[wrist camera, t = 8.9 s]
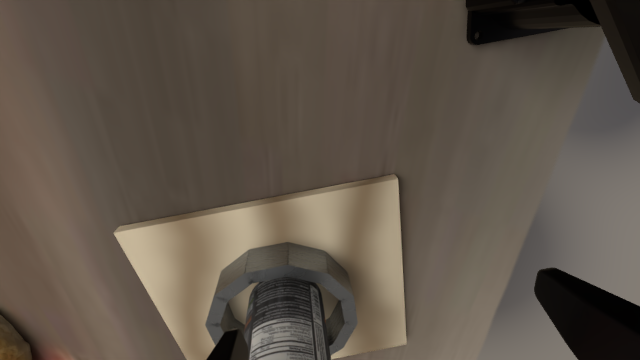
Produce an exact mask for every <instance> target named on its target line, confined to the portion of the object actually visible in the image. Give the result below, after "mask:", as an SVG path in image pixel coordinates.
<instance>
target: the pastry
mask: <svg viewBox="0 0 640 360" xmlns="http://www.w3.org/2000/svg"><path fill="white" fill-rule="evenodd" d="M30 350H31V348H30V345H29V343H28V342H25V341H24V340H23V338H22V337H21V336H20V335H19V334H18V332H17V331H16V330H15V329H14V327H13V326H12V325H11V324H10V323H9V322H8V321H7V320H6V319H5V318H4V317H2V316H1V315H0V360H32V354H31V351H30Z"/></svg>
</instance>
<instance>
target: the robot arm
mask: <svg viewBox="0 0 640 360" xmlns="http://www.w3.org/2000/svg"><path fill="white" fill-rule="evenodd" d="M466 8H467V9H468V21H467V41H468V43H470V44H472V45H479V44H485V43H490V42H496V41H501V40H506V39H512V38H517V37H523V36H528V35H534V34H539V33H544V32H550V31H555V30H561V29H566V28H575V27H602V29H603V32H604V34H605V36H606V38H607V41H608V43H609V45H610V47H611V49H612V52H613V54H614V56H615V59H616V61H617V63H618V65H619V68H620V70H621V72H622V74H623V77H624V79H625V81H626V83H627V86H628V88H629V90H630V93H631V95H632V97H633V99H634V100H635V101H637V102H638V103H640V0H466ZM477 31H478V32H479V37H478V38H477V39H475V37H474V36H475V33H476V32H477ZM534 292H535V295H536V297H537V299H538V301H539V302H540V304H541V305H542V307H543V308H544V310H545V311H546V313H547V314H548V316H549V318H550V319H551V320H552V322H553V324H554V325H555V327H556V328H557V330H558V331H559V333H560V335H561V336H562V338H563V339H564V341H565V342H566V344H567V345H568V347H569V348H570V349H571V350H572V352H573V353H574V355H575V356H576V357H577V359H578V360H640V306H638V305H636V304H633V303H631V302H629V301H627V300H625V299H623V298H620V297H618V296H616V295H614V294H611V293H609V292H607V291H605V290H603V289H601V288H598V287H596V286H594V285H592V284H590V283H587V282H585V281H583V280H581V279H579V278H577V277H574V276H572V275H570V274H568V273H566V272H563V271H561V270H559V269H557V268H546V269H541V270H539V271H538V273H537V277H536V282H535V287H534ZM248 359H249V350H248V345H247V343H246V340H245V338H244V336H243V334H242V332H241V330H240V329H239V328H236V329H231V330H227V331H225V332H224V334H223V335H222V337H221V338H220V340H219V341H218V343H217V344H216V346H215V347H214V349H213V350H212V352H211V353H210V355H209V356H208V358H207V359H206V360H248Z"/></svg>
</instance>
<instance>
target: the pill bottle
mask: <svg viewBox="0 0 640 360" xmlns="http://www.w3.org/2000/svg"><path fill="white" fill-rule="evenodd" d="M244 338H245V340H246V343H247V345H248V350H249V359H248V360H331V355H330V348H329V342H328V335H327V328H326V321H325V313H324V306H323V300H322V294H321V291H320V289H319V287H318V285H317V284H316V283H314V282H310V281H305V280H301V279H296V278H291V277H283V278H278V279H272V280H267V281H262V282H259V283H258V284H257V285H256V286H255V287H254V289H253V290H252V292H251V294H250V297H249V303H248V309H247V315H246V323H245V330H244Z"/></svg>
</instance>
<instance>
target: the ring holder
mask: <svg viewBox="0 0 640 360" xmlns="http://www.w3.org/2000/svg"><path fill="white" fill-rule="evenodd" d="M114 235H115V237H116V238H117V240H118V242H119V243H120V245H121V247H122V249H123V250H124V252H125V254H126V255H127V257H128V259H129V261H130V262H131V264H132V266H133V268H134V269H135V271H136V273H137V274H138V276H139V278H140V280H141V281H142V283H143V285H144V287H145V288H146V290H147V292H148V293H149V295H150V297H151V299H152V300H153V302H154V304H155V305H156V307H157V309H158V311H159V312H160V314H161V316H162V318H163V319H164V321H165V323H166V324H167V326H168V328H169V330H170V331H171V333H172V335H173V337H174V338H175V340H176V342H177V343H178V345H179V347H180V349H181V350H182V352H183V354H184V355H185V357H186V359H187V360H206V359H207V358H208V356H209V355H210V353H211V352H212V350H213V349H214V347H215V346H216V344H217V343H218V341H219V340H220V338H221V337H222V335H223V334H224V332H225V331H227V330H231V329H236V328H239V329H240V330H241V332H242V334H243V336H244V330H245V323H246V315H247V309H248V303H249V297H250V294H251V292H252V290H253V289H254V287H255V286H256V285H257V284H258V283H259V282H262V281H267V280H272V279H278V278H283V277H291V278H296V279H301V280H305V281H310V282H314V283H316V284H317V285H318V287H319V289H320V291H321V294H322V300H323V306H324V313H325V321H326V328H327V335H328V342H329V348H330V355H331V359H335V358H340V357H345V356H350V355H355V354H360V353H365V352H370V351H375V350H380V349H385V348H391V347H396V346H401V345H406V344H407V342H406V322H405V303H404V283H403V264H402V245H401V225H400V206H399V186H398V178H397V177H396V176H395V174H393V175H387V176H382V177H377V178H372V179H366V180H361V181H356V182H350V183H345V184H340V185H335V186H329V187H324V188H319V189H314V190H308V191H303V192H298V193H292V194H287V195H282V196H277V197H271V198H266V199H261V200H255V201H250V202H245V203H240V204H234V205H229V206H224V207H219V208H213V209H208V210H203V211H197V212H192V213H187V214H182V215H176V216H171V217H166V218H160V219H155V220H150V221H145V222H139V223H134V224H129V225H123V226H119V227H118V228H117V229H116V231H115V232H114Z"/></svg>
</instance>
